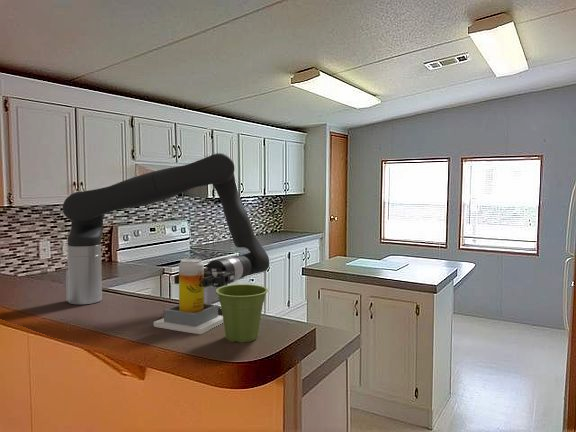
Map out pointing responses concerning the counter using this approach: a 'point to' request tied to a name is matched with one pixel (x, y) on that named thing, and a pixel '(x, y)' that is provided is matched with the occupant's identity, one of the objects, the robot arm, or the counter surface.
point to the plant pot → (241, 310)
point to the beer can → (191, 285)
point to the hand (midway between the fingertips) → (189, 281)
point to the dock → (190, 319)
